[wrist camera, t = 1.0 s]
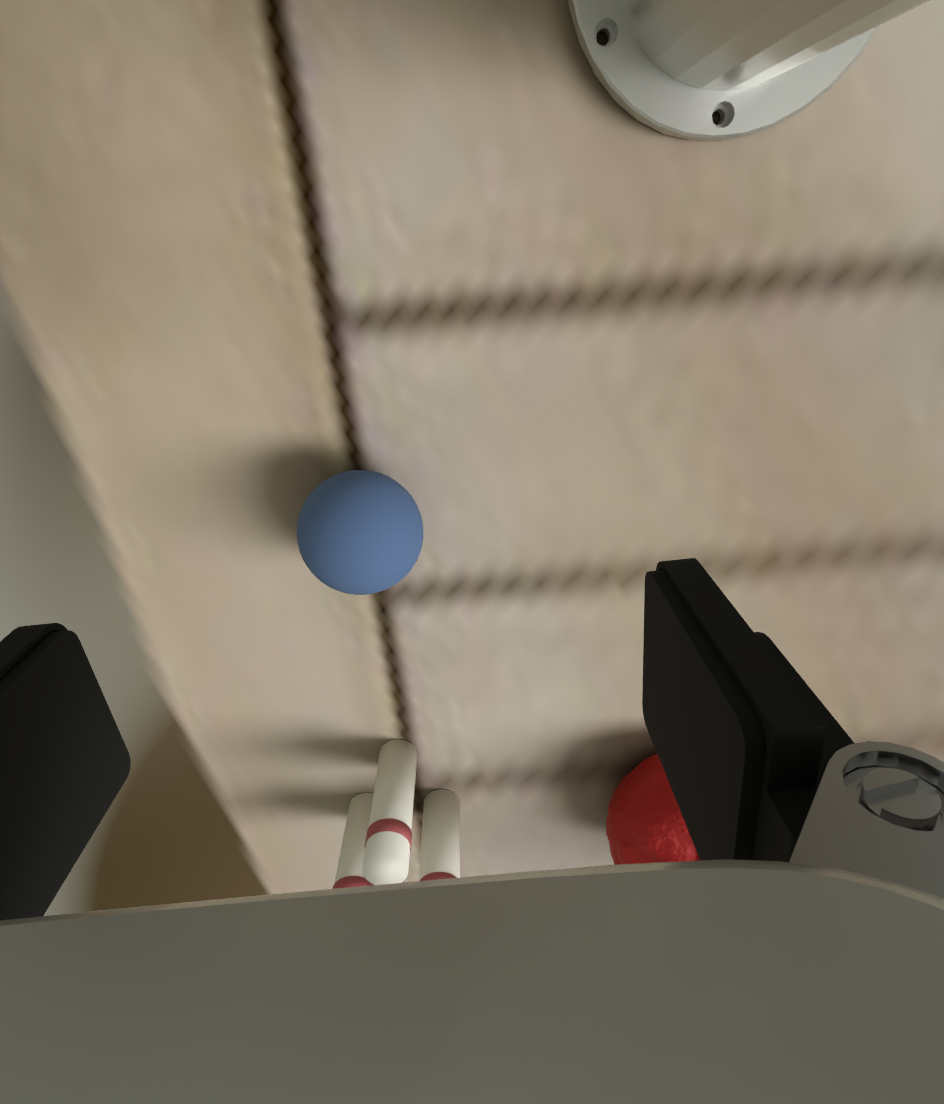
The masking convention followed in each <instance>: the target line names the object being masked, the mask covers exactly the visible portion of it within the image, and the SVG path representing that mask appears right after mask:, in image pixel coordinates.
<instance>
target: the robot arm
mask: <svg viewBox="0 0 944 1104" xmlns="http://www.w3.org/2000/svg"><path fill="white" fill-rule="evenodd" d="M927 1H929V0H568V4H569V10H570V13H571V17H572V20H573V23H574V27H575V30H576V33H577V37H578V40H579V44H580V46H581V48H582V50H583V52H584V54H585V56H586V58H587V60H588V62H589V64H590V66H591V68H592V70H593V72H594V74H595V76H596V77H597V78H598V80H599V81H600V82H601V84H602V85H603V86H604V88H605V89H606V90H607V91H608V93H609V94H610V95H611V97H612V98H613V99H614V101H615V102H617V103H618V104H619V105H620V106H621V107H622V108H624V109H625V110H626V111H627V112H628V113H629V114H631V115H632V116H633V117H634V118H635V119H637V120H638V121H640V122H642V123H643V124H645V125H647V126H649V127H651V128H653V129H655V130H657V131H659V132H661V133H663V134H666V135H670V136H674V137H678V138H682V139H686V140H690V141H722V140H727V139H732V138H737V137H741V136H746V135H750V134H753V133H755V132H758V131H760V130H763V129H766V128H769V127H772V126H774V125H776V124H778V123H779V122H781V121H783V120H785V119H787V118H789V117H790V116H792V115H794V114H796V113H798V112H800V111H801V110H803V109H804V108H805V107H807V106H808V105H809V104H810V103H812V102H813V101H814V100H815V99H817V98H818V97H819V96H820V95H822V94H823V93H824V92H825V91H827V90H828V89H829V88H830V87H831V86H832V85H833V84H834V83H835V82H836V81H837V80H838V79H839V78H840V77H841V75H842V74H843V73H844V72H845V71H846V70H847V69H848V68H849V67H850V66H851V65H852V63H853V62H854V61H855V60H856V59H857V58H858V56H859V55H860V53H861V52H862V51H863V49H864V48H865V46H866V45H867V44H868V42H869V41H870V39H871V38H872V37H873V35H874V34H875V32H876V30H877V29H878V27H879V26H880V25H881V24H883V23H885V22H887V21H889V20H891V19H893V18H895V17H897V16H899V15H901V14H903V13H905V12H907V11H909V10H911V9H913V8H915V7H917V6H919V5H921V4H923V3H925V2H927ZM600 31H603V32H605V33H606V34H607V37H608V42H607V44H606V45H603V46H602V45H599V43H598V42H597V39H596V36H597V33H598V32H600ZM714 111H718V112H719V113H720V115H721V120H720V123H719V124H718V125H715V124H714V123H713V120H712V114H713V112H714ZM642 703H643V714H644V720H645V724H646V727H647V729H648V732H649V734H650V737H651V739H652V742H653V744H654V747H655V749H656V752H657V754H658V757H659V759H660V762H661V764H662V767H663V769H664V771H665V774H666V776H667V779H668V781H669V784H670V786H671V789H672V791H673V794H674V796H675V799H676V801H677V804H678V806H679V809H680V811H681V814H682V816H683V819H684V821H685V823H686V826H687V828H688V831H689V833H690V836H691V838H692V841H693V843H694V846H695V848H696V851H697V853H698V856H699V858H700V861H680V862H655V863H637V864H619V865H607V866H595V867H584V868H572V869H558V870H544V871H530V872H519V873H508V874H496V875H485V876H474V877H462V878H451V879H439V880H428V881H417V882H405V883H394V884H383V885H371V886H360V887H348V888H337V889H326V890H315V891H304V892H294V893H283V894H272V895H261V896H251V897H241V898H230V899H219V900H208V901H197V902H187V903H176V904H165V905H155V906H144V907H134V908H124V909H113V910H103V911H93V912H82V913H72V914H62V915H52V916H43V915H44V914H45V912H46V910H47V909H48V907H49V905H50V904H51V902H52V900H53V899H54V897H55V896H56V894H57V892H58V891H59V889H60V887H61V885H62V884H63V882H64V880H65V879H66V877H67V876H68V874H69V873H70V871H71V869H72V868H73V866H74V864H75V862H76V861H77V859H78V858H79V856H80V854H81V853H82V851H83V849H84V848H85V846H86V845H87V843H88V841H89V840H90V838H91V836H92V835H93V833H94V831H95V830H96V828H97V826H98V825H99V823H100V821H101V820H102V818H103V816H104V815H105V813H106V812H107V810H108V808H109V807H110V805H111V803H112V802H113V800H114V798H115V797H116V795H117V793H118V792H119V790H120V789H121V787H122V785H123V784H124V782H125V780H126V779H127V776H128V774H129V771H130V756H129V753H128V750H127V748H126V746H125V743H124V741H123V739H122V736H121V734H120V732H119V730H118V727H117V725H116V723H115V721H114V718H113V716H112V714H111V711H110V709H109V707H108V704H107V702H106V700H105V697H104V696H103V693H102V691H101V688H100V686H99V684H98V681H97V679H96V677H95V675H94V672H93V670H92V668H91V665H90V663H89V661H88V659H87V656H86V654H85V652H84V650H83V647H82V645H81V642H80V640H79V639H78V637H77V635H76V634H75V633H74V632H72V631H69V630H67V629H66V628H65V627H64V626H63V625H61V624H58V623H51V624H41V625H31V626H22V627H18V628H16V629H15V630H13V631H12V632H11V633H10V634H9V635H7V636H6V637H5V638H4V639H3V640H2V641H1V642H0V1104H944V763H943V762H942V761H940V760H939V759H937V758H935V757H933V756H931V755H928V754H926V753H923V752H921V751H918V750H916V749H914V748H910V747H906V746H902V745H898V744H893V743H888V742H871V741H867V742H861V743H854V742H853V741H852V740H851V738H850V737H849V736H848V735H847V733H846V732H845V731H844V730H843V729H842V727H841V726H840V725H839V724H838V722H837V721H836V720H835V719H834V717H833V716H832V715H831V714H830V712H829V711H828V710H827V709H826V707H825V706H824V705H823V704H822V702H821V701H820V700H819V699H818V698H817V696H816V695H815V694H814V693H813V691H812V690H811V689H810V688H809V686H808V685H807V684H806V683H805V681H804V680H803V679H802V678H801V676H800V675H799V674H798V673H797V672H796V670H795V669H794V668H793V667H792V665H791V664H790V663H789V662H788V660H787V659H786V658H785V657H784V655H783V654H782V653H781V652H780V650H779V649H778V648H777V647H776V646H775V644H774V643H773V642H772V641H771V639H770V638H769V637H767V636H766V635H765V634H764V633H760V632H753V631H752V630H751V628H750V627H749V626H748V624H747V623H746V622H745V621H744V619H743V618H742V617H741V615H740V614H739V613H738V612H737V610H736V609H735V608H734V606H733V605H732V604H731V603H730V601H729V600H728V599H727V598H726V596H725V595H724V594H723V592H722V591H721V590H720V589H719V587H718V586H717V585H716V583H715V582H714V581H713V580H712V578H711V577H710V576H709V574H708V573H707V572H706V571H705V569H704V568H703V567H702V565H701V564H700V563H699V562H698V560H696V559H695V558H691V559H681V560H671V561H661V562H659V563H658V564H657V568H656V571H650V572H647V573H646V576H645V605H644V653H643V702H642Z"/></svg>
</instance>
